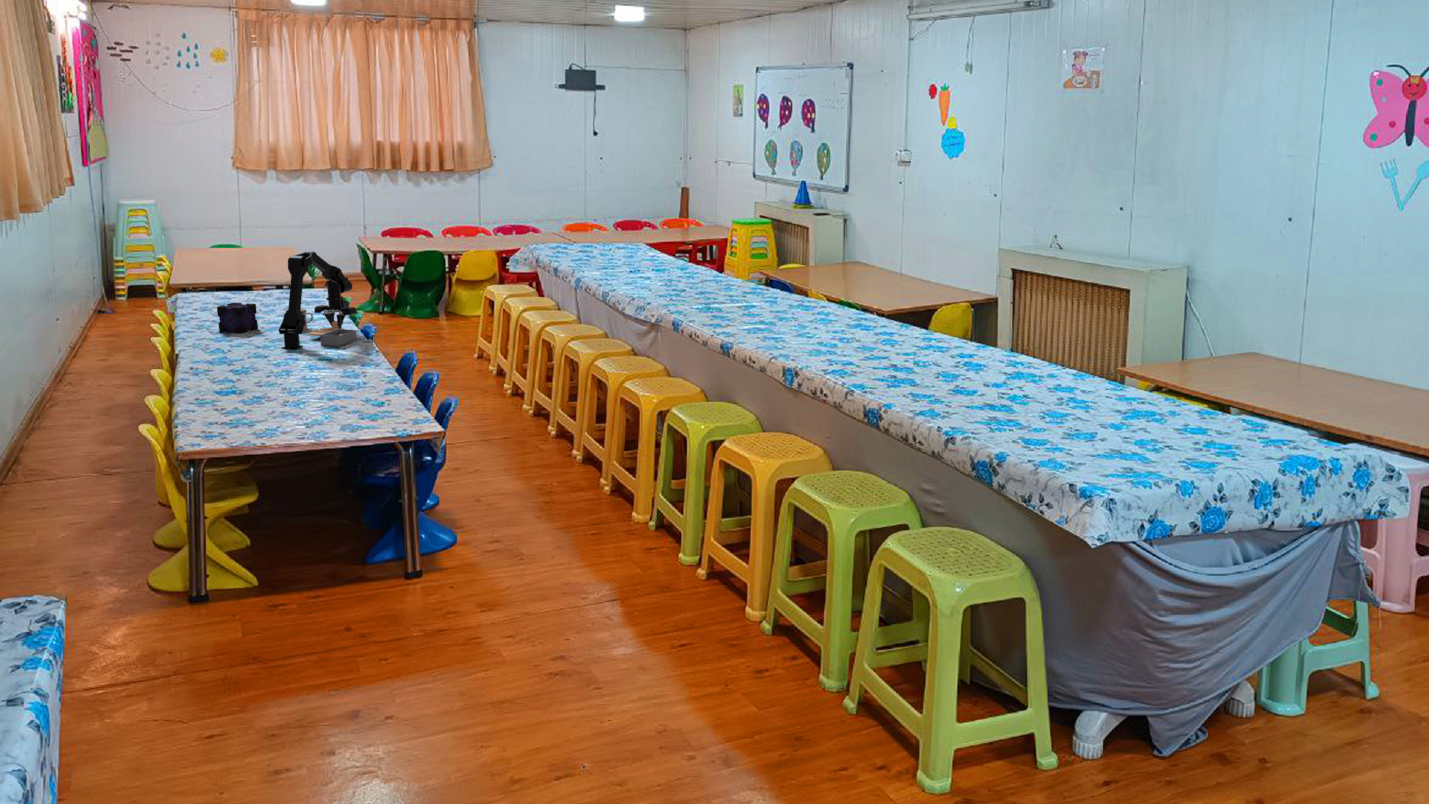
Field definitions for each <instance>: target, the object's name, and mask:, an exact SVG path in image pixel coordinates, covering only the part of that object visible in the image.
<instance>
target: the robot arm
mask: <svg viewBox="0 0 1429 804" xmlns="http://www.w3.org/2000/svg"><path fill="white" fill-rule="evenodd" d="M310 266H314V267H315V268H316V269H317V270H318V271H320V273H321V275H322V277H323V279H325V280H326V282H325V283H324V285H323V286H324V287H327V288H326V289H327V297H326V301H327V303H328V305H325V304H324V305H323V304H320V305H316V306H315V307H314V314H321V313H322V312H323V314H322V316H324V317H325V319H327V321H328V323H329V325H330V326H331V327H332V322H333V321H335V315H336V321H337V322H338V327H339V328H341V327H342V326H343V323H344V320H345V318H346V316H353V315H355V314H357V312H358V311H357V308H356V307H355V306H350V301H349V300H345V299H344V297H343V295H342V294H343V293H348V292H350V291H352V289H353V284H352V281H351V280H349V277H348V276H347V277H346V276H345V275H344V272H343V271H342V269H341V268H340V267H337V266H335V265H332V264H330V263H328V262H327V261H326V260H325V259H323V258H322V257H321V256H320V255H318V254H317V252H315V251H312V250H311V251H310V250H309V251H304V252H302V253H298V254H294V255H290V257H288V259H287V270H288V272H289V274H290V287H289V297H288V298H289V299H288V308H287V309H288V310H287V309H286V310H287V311H286V310H285V313H284V314H283V319H282V321H281V324H280V326H279V327H278V333H279V335H283V341H284V343H283V344H284V345H283V346H282V347H281V349H286V350H296V349H300V348H302V347H304V345H303V344H301V341H300V335H302V334H303V333H304V330H303V328H304V324H305V314H302V312H301V308H302V298H303V297H302V296H303V285H304V277H305V276H306V275H307V273H308V271H309V267H310ZM336 313H338V314H336ZM288 329H291V330H288Z"/></svg>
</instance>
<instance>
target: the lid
mask: <svg viewBox="0 0 1429 804" xmlns="http://www.w3.org/2000/svg"><path fill="white" fill-rule="evenodd" d="M337 329H343V328H342V327H341V328H339V327H338V322H337V320H334V321H333V322H332V326H331V327H328V326H327V327H323V328H322V327H321V328H319V329H316V330H315V329H314V330H313V331H311V332H307V333H306V334H307V336H310V337H311V336H312V337H320V335H321V334H324V333H327V332H331V331H334V330H337Z"/></svg>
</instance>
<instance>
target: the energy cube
mask: <svg viewBox="0 0 1429 804" xmlns="http://www.w3.org/2000/svg"><path fill="white" fill-rule="evenodd" d="M216 313H217V317H219V322H218V323H217V324H218V331H219V333H222V332H227V333H226V334H228V332H229V333H233V334H237V335H238V334H239V335H242V334H247V333H248V332H249V331H256V330H259V325H258V319H257V318H256V317H257V316H256V314H257V313H258V311H257V304H256V303H248V302H247V303H245V304H243V303H242V302H230V303H227V305H219V306H216ZM246 332H247V333H246Z"/></svg>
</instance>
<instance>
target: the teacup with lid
mask: <svg viewBox="0 0 1429 804" xmlns="http://www.w3.org/2000/svg"><path fill="white" fill-rule="evenodd" d="M287 310H288V308H287V309H285V312H286V311H287ZM301 312H302V314H305V324H304V328H303V331H304V330H308V324H310V323H312V322H313V320H314V315H313V313H311V312H307V309H306V308H304V307H301ZM307 315H310V317H311V318H310V319H309V320H308V321H307ZM288 330H291V329H288Z"/></svg>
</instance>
